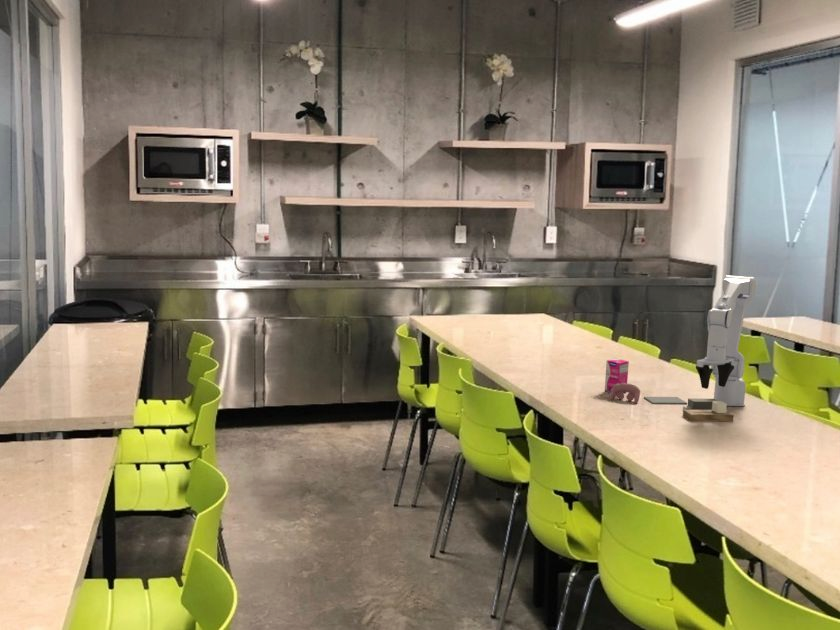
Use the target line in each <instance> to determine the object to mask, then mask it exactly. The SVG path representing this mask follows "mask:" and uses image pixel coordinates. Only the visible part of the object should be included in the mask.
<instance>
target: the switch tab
mask: <svg viewBox="0 0 840 630" xmlns="http://www.w3.org/2000/svg"><path fill="white" fill-rule="evenodd" d="M727 407H728V406H727V404H726V403H724V402H722V401H713V402H712V411H714V412H716V413H726V411H727Z"/></svg>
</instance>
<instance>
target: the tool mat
mask: <svg viewBox="0 0 840 630" xmlns="http://www.w3.org/2000/svg"><path fill="white" fill-rule="evenodd" d="M643 399H645V400H646V401H647V402H649V403H650V404H652V405H688V401H687V402H686V401H685V400H683V399H681V398H680V397H679V396H643Z"/></svg>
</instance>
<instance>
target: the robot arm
mask: <svg viewBox="0 0 840 630" xmlns="http://www.w3.org/2000/svg"><path fill="white" fill-rule="evenodd" d="M755 278H756V277H754V276H739V275H729V274H727V275H725V276H724V277H723V280H722V293H723V295H722V296H721V297H719V298H718V300H717V302H716V303H715V305H714V307H713V308H712V309H709V310H708V313H707V320H706V321H707V332H708V337H707V346H706V349H707V350H706V356H705V357H704V358H702V359H696V365H695V369H696V371H697V374H698V376H699V379H700V380H699V381H700V385H701V389H705V390H708V389H709V386H710V385H709V384H710V379H711V376H712V375H713V377H714V378H715V382H714V393H713V399H715V400H717V401H722V402H724V403H726V404H727V407H745V406H746V404H745V398H746V397H745V395H746V383H745V380H744V379H743V376H744V374H745V373H744V372H745V361H746V360H745V359H746V358H745V357H744V355H743V354H742V353H741V352H740V351H739V347H740V340H741V334H742V329H743V324H744V318H745V313H746V309H747V307H748V305H750V304H752V303H753V301H754V298H755V294H756V287H757V286H756V284H757V280H756V279H755Z"/></svg>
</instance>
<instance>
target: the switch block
mask: <svg viewBox="0 0 840 630" xmlns="http://www.w3.org/2000/svg"><path fill="white" fill-rule="evenodd" d="M682 416H683V417H684V418H685V419H687V420H689V421H692V422H709V421H710V422H734V414H733V413H732V412H729V411H728V410H726V413H716V412H714V411H712V410H683V409H682Z"/></svg>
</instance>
